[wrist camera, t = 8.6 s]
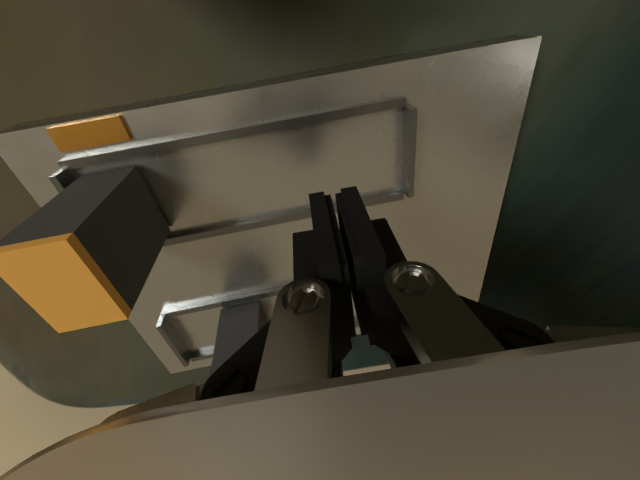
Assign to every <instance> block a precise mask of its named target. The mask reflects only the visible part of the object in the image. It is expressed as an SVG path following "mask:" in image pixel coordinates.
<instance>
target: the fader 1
mask: <svg viewBox="0 0 640 480" xmlns="http://www.w3.org/2000/svg"><path fill="white" fill-rule="evenodd" d="M169 232H170V228H169V226H168V224H167V222H166V220H165V218H164V216H163V214H162V213H161V211H160V209H159V207H158V205H157V203H156V201H155V199H154V197H153V195H152V193H151V191H150V190H149V188H148V186H147V184H146V182H145V180H144V178H143V176H142V174H141V172H140V170H139V168H138V166H137V165H134V166H129V167H124V168H118V169H113V170H108V171H102V172H97V173H92V174H86V175H81V176H80V177H79V178H78V179H76V180H75V181H74V182H73V183H71V184H70V185H69V186H68V187H66V188H65V189H64V190H63V191H61V192H60V193H59V194H58V195H56V196H55V197H54V198H53V199H51V200H50V201H49V202H48V203H46V204H45V205H44V206H43V207H41V208H40V209H39V210H38V211H36V212H35V213H34V214H33V215H31V216H30V217H29V218H28V219H26V220H25V221H24V222H23V223H21V224H20V225H19V226H18V227H16V228H15V229H14V230H13V231H11V232H10V233H9V234H8V235H6V236H5V237H4V238H3V239H1V240H0V277H1V278H2V279H3V280H4V281H5V282H6V283H7V284H8V285H9V286H11V287H12V288H13V289H14V290H15V291H16V292H17V293H18V294H19V295H20V296H21V297H22V298H23V299H24V300H25V301H26V302H27V303H28V304H29V305H30V306H31V307H32V308H33V309H34V310H35V311H36V312H37V313H38V314H39V315H40V316H41V317H43V318H44V319H45V320H46V321H47V322H48V323H49V324H50V325H51V326H52V327H53V328H54V329H55V330H56V331H57V332H58V333H62V332H67V331H72V330H77V329H82V328H87V327H92V326H97V325H101V324H106V323H111V322H116V321H121V320H126V319H128V318H129V316H130V314H131V312H132V310H133V308H134V305H135V303H136V301H137V299H138V297H139V295H140V293H141V291H142V289H143V287H144V284H145V282H146V280H147V278H148V276H149V274H150V272H151V270H152V268H153V266H154V263H155V261H156V259H157V257H158V255H159V253H160V251H161V249H162V247H163V245H164V242H165V240H166V238H167V236H168V234H169Z"/></svg>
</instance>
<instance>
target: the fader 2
mask: <svg viewBox="0 0 640 480" xmlns="http://www.w3.org/2000/svg"><path fill="white" fill-rule="evenodd" d="M266 324H267V322H266V319H265V317H264V314H263V311H262V309H261V306H260V303H259V302H254V303H249V304H244V305H239V306H234V307H230V308H225V309H221V311H220V317H219V323H218V329H217V335H216V341H215V347H214V353H213V359H212V365H211V371H210V376H211V375H212V374H213V373H214V371H216V370H217V369H218V368H219V367H220V366H221V365H222V364H223V363H224V362H225V361H226V360H227V359H229V358H230V357H231V356H232V355H233V354H234V353H235V352H236V351H237V350H238V349H239V348H241V347H242V346H243V345H244V344H245V343H246V342H247V341H248V340H249V339H250V338H251V337H252V336H254V335H255V334H256V333H257V332H258V331H259V330H260V329H261V328H262V327H263V326H264V325H266Z"/></svg>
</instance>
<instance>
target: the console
mask: <svg viewBox="0 0 640 480" xmlns="http://www.w3.org/2000/svg"><path fill="white" fill-rule="evenodd" d="M541 39H542V36H533V35H509V36H503V37H498V38H492V39H487V40H481V41H475V42H470V43H464V44H459V45H453V46H448V47H442V48H437V49H431V50H426V51H420V52H414V53H409V54H403V55H398V56H392V57H387V58H381V59H376V60H370V61H365V62H359V63H353V64H348V65H342V66H337V67H331V68H326V69H320V70H315V71H309V72H303V73H298V74H292V75H287V76H281V77H276V78H270V79H265V80H259V81H254V82H248V83H242V84H237V85H231V86H226V87H220V88H215V89H209V90H204V91H198V92H193V93H187V94H181V95H176V96H170V97H165V98H159V99H154V100H148V101H143V102H137V103H132V104H126V105H120V106H115V107H109V108H104V109H98V110H93V111H87V112H82V113H76V114H71V115H65V116H59V117H54V118H48V119H43V120H37V121H32V122H26V123H21V124H16V125H14V126H11V127H9V128H6V129H4V130H1V131H0V156H1V157H2V158H3V160H4V161H5V162H6V164H7V165H8V166H9V167H10V169H11V170H12V171H13V173H14V174H15V175H16V176H17V178H18V179H19V180H20V181H21V183H22V184H23V185H24V187H25V188H26V189H27V190H28V192H29V193H30V194H31V196H32V197H33V198H34V199H35V201H36V202H37V203H38V204H39V206H40V207H43V206H44V205H45V204H46V203H48V202H49V201H50V200H51V199H53V198H54V197H55V196H56V195H58V194H59V193H60V192H61V191H63V190H64V189H65V188H66V187H68V186H69V185H70V184H71V183H73V182H74V181H75V180H76V179H78V178H79V177H80V176H81V175H86V174H92V173H97V172H102V171H108V170H113V169H118V168H124V167H129V166H134V165H137V166H138V168H139V170H140V172H141V174H142V176H143V178H144V180H145V182H146V184H147V186H148V188H149V190H150V191H151V193H152V195H153V197H154V199H155V201H156V203H157V205H158V207H159V209H160V211H161V213H162V214H163V216H164V218H165V220H166V222H167V224H168V226H169V228H170V232H169V234H168V236H167V238H166V240H165V242H164V245H163V247H162V249H161V251H160V253H159V255H158V257H157V259H156V261H155V263H154V266H153V268H152V270H151V272H150V274H149V276H148V278H147V280H146V282H145V284H144V287H143V289H142V291H141V293H140V295H139V297H138V299H137V301H136V303H135V305H134V308H133V310H132V312H131V314H130V316H129V318H128V319H129V321H130V322H131V323H132V324H133V326H134V327H135V328H136V330H137V331H138V332H139V333H140V335H141V336H142V337H143V338H144V340H145V341H146V342H147V344H148V345H149V346H150V347H151V349H152V350H153V351H154V353H155V354H156V355H157V356H158V358H159V359H160V360H161V361H162V363H163V364H164V365H165V367H166V368H167V369H168V370H169V372H170V373H171V374H172V373H177V372H182V371H186V370H191V369H196V368H201V367H205V366H210V365H212V359H213V353H214V347H215V341H216V335H217V329H218V323H219V317H220V311H221V309H225V308H230V307H234V306H239V305H244V304H249V303H254V302H259V303H260V306H261V309H262V311H263V314H264V317H265V319H266V322H267V323H268V322H269V321H270V320H271V318H272V314H273V310H274V305H275V301H276V298H277V295H278V293H279V292H280V290H281V289H282V288H283V287H284V286H285V285H287V284H288V283H290V282H292V281H294V280H293V233H296V232H302V231H308V230H313V225H312V217H311V209H310V201H309V194H311V193H317V192H323V191H324V195H330V194H331V198H332V202H333V206H334V210H335V214H336V218H337V222H338V214H337V206H336V198H335V194H336V193H341V191H340V189H341V188H347V187H353V186H356V187H357V189H358V191H359V194H360V196H361V198H362V201H363V203H364V205H365V208H366V210H367V212H368V215H369V217H370V219H371V220H374V219H380V218H385V219H386V220H387V222H388V224H389V226H390V228H391V230H392V232H393V234H394V236H395V238H396V240H397V242H398V244H399V246H400V248H401V250H402V252H403V254H404V256H405V258H406V259H407V261H417V262H421V263H425V264H427V265H429V266H431V267H433V268H434V269H435V270H436V271H437V272H438V273H439V274H440V275H441V276H442V277H443V278H444V280H445V281H446V282H447V283H448V284H449V285H450V286H451V288H452V289H453V290H454V291H455V292H456V293H457V294H458V295H461V296H463V297H466V298H468V299H471V300H474V301H476V302H478V301H479V296H480V292H481V288H482V284H483V280H484V276H485V271H486V267H487V263H488V259H489V255H490V251H491V247H492V242H493V238H494V234H495V230H496V226H497V222H498V217H499V213H500V209H501V205H502V201H503V197H504V193H505V188H506V184H507V180H508V176H509V172H510V168H511V163H512V159H513V155H514V151H515V147H516V143H517V139H518V134H519V130H520V126H521V122H522V118H523V114H524V109H525V105H526V101H527V97H528V93H529V89H530V85H531V80H532V76H533V72H534V68H535V64H536V60H537V55H538V51H539V47H540V43H541ZM338 226H339V222H338ZM351 295H352V294H351ZM352 304H353V312H354V321H355V330H356V335H358V334H361V332H360V328H359V323H358V319H357V315H356V311H355V306H354V302H353V298H352Z"/></svg>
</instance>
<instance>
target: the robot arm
mask: <svg viewBox="0 0 640 480" xmlns="http://www.w3.org/2000/svg"><path fill="white" fill-rule="evenodd" d="M340 191H341V193H336V194H335V198H336V206H337V214H338V222H339V226H338V222H337V218H336V214H335V210H334V206H333V202H332V198H331V194H330V195H324V191H323V192H317V193H311V194H309V201H310V209H311V217H312V225H313V230H308V231H302V232H296V233H293V280H294V281H292V282H290V283H288V284H287V285H285V286H284V287H283V288H282V289H281V290H280V292H279V293H278V295H277V298H276V301H275V305H274V310H273V314H272V318H271V320H270V321H269V322H268V323H267V324H266V325H264V326H263V327H262V328H261V329H260V330H259V331H258V332H257V333H256V334H255V335H254V336H252V337H251V338H250V339H249V340H248V341H247V342H246V343H245V344H244V345H243V346H242V347H241V348H239V349H238V350H237V351H236V352H235V353H234V354H233V355H232V356H231V357H230V358H229V359H227V360H226V361H225V362H224V363H223V364H222V365H221V366H220V367H219V368H218V369H217V370H216V371H214V373H213V374H212V375H211V376H210V377H209V378H208V379H207V381H206V383H204V384H202V385H199V386H198V385H197V383H196V382H195V383H192V384H189V385H187V386H184V387H181V388H179V389H176V390H174V391H171V392H168V393H166V394H163V395H160V396H158V397H155V398H152V399H150V400H147V401H145V402H142V403H139V404H137V405H134V406H131V407H129V408H126V409H124V410H121V411H118V412H117V413H115V414H113V415H111V416H109V417H108V418H106V419H105V420H104V421H103V422H102V423H101V424H99V425H96V426H94V427H91V428H89V429H86V430H84V431H81V432H79V433H76V434H74V435H71V436H69V437H67V438H65V439H63V440H61V441H59V442H57V443H55V444H53V445H51V446H49V447H47V448H46V449H44V450H42V451H40V452H38V453H36V454H34V455H32V456H31V457H29V458H28V459H26V460H24V461H23V462H21V463H20V464H18V465H17V466H15V467H14V468H12V469H11V470H9V471H8V472H6V473H5V474H3V475H2V476H0V480H640V329H638V328H617V327H586V326H556V325H547V328H546V330H542V329H541V328H539V327H538V326H536V325H534V324H532V323H530V322H528V321H526V320H523V319H520V318H518V317H515V316H513V315H510V314H507V313H505V312H502V311H500V310H497V309H494V308H492V307H489V306H487V305H484V304H481V303H479V302H476V301H474V300H471V299H468V298H466V297H463V296H461V295H458V294H457V293H456V292H455V291H454V290H453V289H452V288H451V286H450V285H449V284H448V283H447V282H446V281H445V280H444V278H443V277H442V276H441V275H440V274H439V273H438V272H437V271H436V270H435V269H434V268H433V267H431V266H429V265H427V264H425V263H421V262H417V261H407V259H406V258H405V256H404V254H403V252H402V250H401V248H400V246H399V244H398V242H397V240H396V238H395V236H394V234H393V232H392V230H391V228H390V226H389V224H388V222H387V220H386V219H385V218H380V219H374V220H371V219H370V217H369V215H368V212H367V210H366V208H365V205H364V203H363V201H362V198H361V196H360V194H359V191H358V189H357V187H356V186H353V187H347V188H341V189H340ZM351 294H352V295H351ZM352 298H353V302H354V306H355V311H356V315H357V319H358V323H359V328H360V332H361V335H368V338H369V341H370V345H373V344H374V345H376V346H377V347H379V348H381V349H383V350H384V351H385V354H386V357H387V360H388V362H389V364H390V366H391V369H386V370H380V371H374V372H368V373H362V374H355V375H349V376H343V363H342V360H343V359H344V357H345V356H346V355H347V354H348V352H349V351H350V350H351V349H352V344H351V337H355V336H356V330H355V321H354V312H353V304H352Z"/></svg>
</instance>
